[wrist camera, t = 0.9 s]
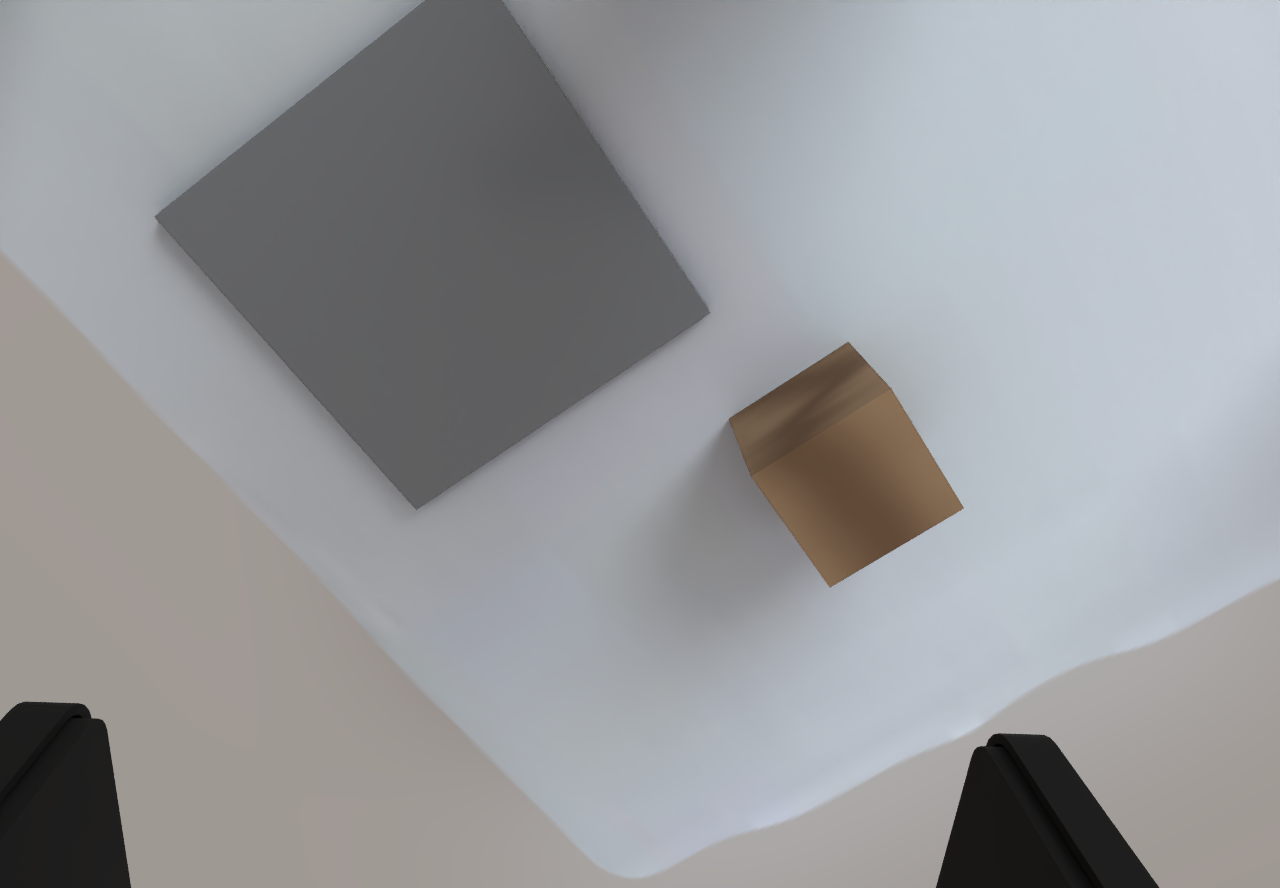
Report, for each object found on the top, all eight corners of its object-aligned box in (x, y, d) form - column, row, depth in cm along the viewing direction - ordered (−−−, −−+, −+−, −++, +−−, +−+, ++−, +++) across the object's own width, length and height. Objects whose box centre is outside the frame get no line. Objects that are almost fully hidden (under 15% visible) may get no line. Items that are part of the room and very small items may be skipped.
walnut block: (847, 341, 35) (891, 388, 30) (913, 447, 37) (963, 508, 32) (728, 418, 36) (751, 476, 31) (798, 517, 38) (829, 587, 33)
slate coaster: (476, -37, 30) (474, -39, 29) (708, 308, 35) (710, 312, 34) (161, 214, 32) (154, 216, 32) (418, 503, 37) (416, 509, 37)
